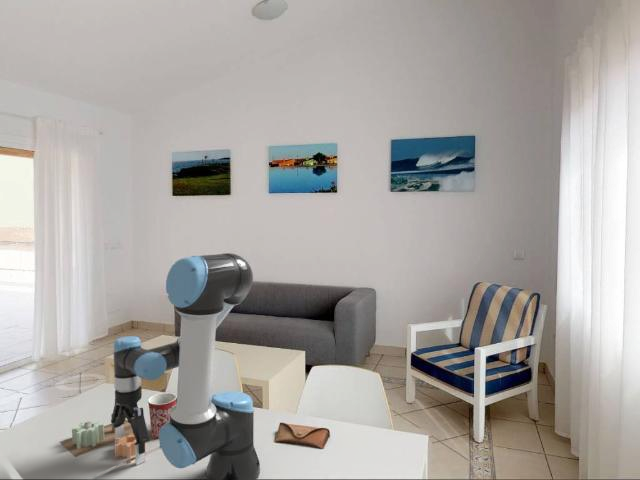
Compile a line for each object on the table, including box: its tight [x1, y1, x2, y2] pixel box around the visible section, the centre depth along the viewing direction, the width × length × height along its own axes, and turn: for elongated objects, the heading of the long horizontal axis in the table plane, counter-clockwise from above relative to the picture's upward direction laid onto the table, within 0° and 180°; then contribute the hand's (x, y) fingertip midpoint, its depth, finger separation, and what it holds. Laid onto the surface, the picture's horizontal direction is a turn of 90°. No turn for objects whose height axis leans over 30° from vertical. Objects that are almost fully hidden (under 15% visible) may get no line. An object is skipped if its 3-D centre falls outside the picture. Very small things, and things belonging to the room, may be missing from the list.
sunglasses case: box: [273, 422, 331, 450], centre depth 145 cm, size 18×7×7 cm, turn 77°
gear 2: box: [113, 432, 136, 464], centre depth 135 cm, size 9×8×5 cm
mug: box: [147, 392, 177, 440], centre depth 147 cm, size 13×9×14 cm
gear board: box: [59, 413, 134, 458], centre depth 144 cm, size 13×21×8 cm, turn 139°
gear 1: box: [71, 419, 105, 449], centre depth 140 cm, size 9×8×5 cm
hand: (129, 454), depth 135 cm, fingers open, 13 cm apart
